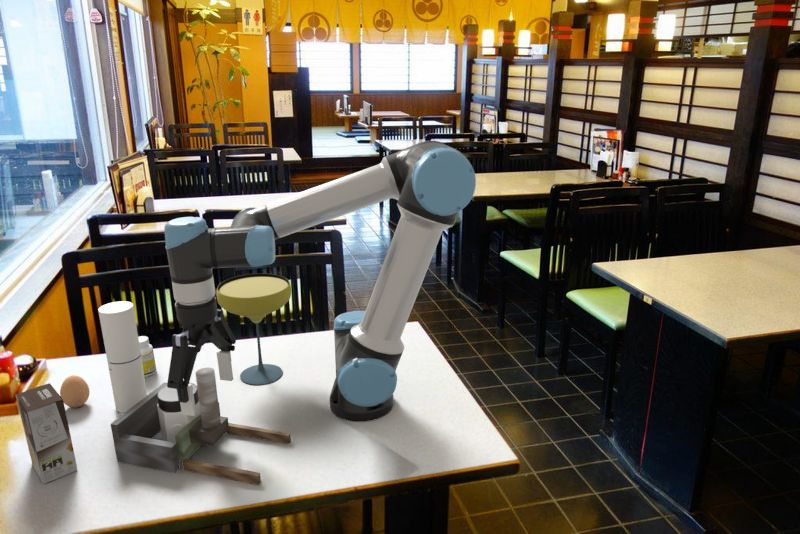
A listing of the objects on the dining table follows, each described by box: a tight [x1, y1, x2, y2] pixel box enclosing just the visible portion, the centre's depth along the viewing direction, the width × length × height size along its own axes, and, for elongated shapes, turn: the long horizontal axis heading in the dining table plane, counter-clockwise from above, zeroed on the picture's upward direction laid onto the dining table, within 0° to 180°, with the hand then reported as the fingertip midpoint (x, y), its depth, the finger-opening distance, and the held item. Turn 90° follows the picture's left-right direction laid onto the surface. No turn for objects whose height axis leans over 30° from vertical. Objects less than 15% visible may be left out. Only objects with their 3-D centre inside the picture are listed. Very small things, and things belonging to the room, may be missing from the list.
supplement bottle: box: [138, 335, 157, 378], centre depth 154 cm, size 5×5×10 cm
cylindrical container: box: [97, 300, 148, 413], centre depth 137 cm, size 7×7×25 cm
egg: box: [59, 374, 90, 409], centre depth 139 cm, size 6×6×8 cm
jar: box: [157, 382, 201, 443], centre depth 125 cm, size 9×8×12 cm
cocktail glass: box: [215, 273, 292, 386], centre depth 150 cm, size 18×18×25 cm
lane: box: [110, 382, 292, 485], centre depth 122 cm, size 31×17×9 cm, turn 75°
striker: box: [175, 367, 229, 463], centre depth 121 cm, size 7×11×18 cm, turn 165°
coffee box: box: [15, 382, 78, 484], centre depth 116 cm, size 9×6×16 cm
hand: (209, 396), depth 119 cm, fingers open, 13 cm apart
